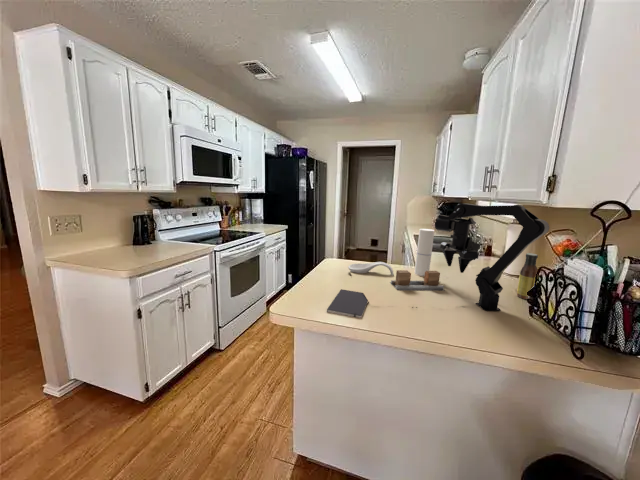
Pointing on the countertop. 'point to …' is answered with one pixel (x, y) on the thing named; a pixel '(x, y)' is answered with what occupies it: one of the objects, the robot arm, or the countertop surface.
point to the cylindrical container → (424, 251)
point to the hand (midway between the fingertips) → (455, 269)
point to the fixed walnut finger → (402, 277)
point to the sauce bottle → (527, 276)
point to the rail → (418, 286)
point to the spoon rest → (367, 267)
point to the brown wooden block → (431, 278)
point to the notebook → (348, 303)
